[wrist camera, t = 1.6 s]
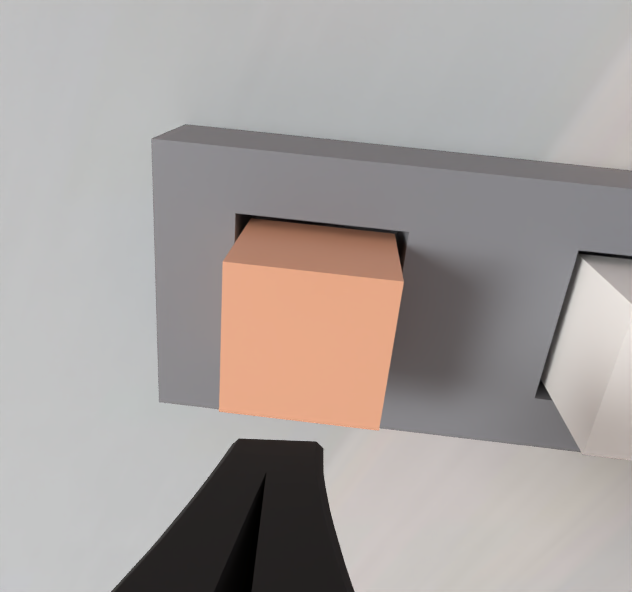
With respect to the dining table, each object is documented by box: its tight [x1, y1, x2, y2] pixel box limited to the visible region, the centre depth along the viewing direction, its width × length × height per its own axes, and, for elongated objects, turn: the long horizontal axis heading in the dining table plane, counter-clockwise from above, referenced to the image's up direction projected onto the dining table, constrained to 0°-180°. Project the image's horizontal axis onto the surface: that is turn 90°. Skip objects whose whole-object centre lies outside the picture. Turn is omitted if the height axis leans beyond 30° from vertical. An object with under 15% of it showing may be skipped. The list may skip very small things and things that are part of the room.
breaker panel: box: [151, 124, 632, 452], centre depth 17 cm, size 18×8×3 cm, turn 85°
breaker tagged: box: [219, 218, 404, 430], centre depth 15 cm, size 4×4×4 cm
